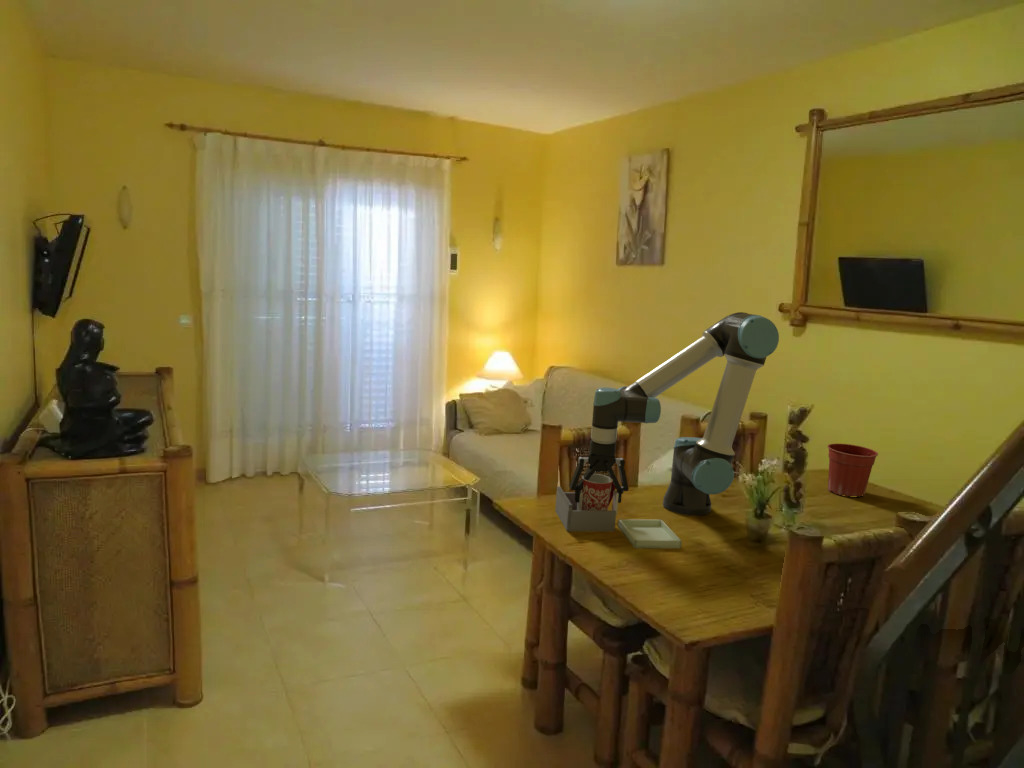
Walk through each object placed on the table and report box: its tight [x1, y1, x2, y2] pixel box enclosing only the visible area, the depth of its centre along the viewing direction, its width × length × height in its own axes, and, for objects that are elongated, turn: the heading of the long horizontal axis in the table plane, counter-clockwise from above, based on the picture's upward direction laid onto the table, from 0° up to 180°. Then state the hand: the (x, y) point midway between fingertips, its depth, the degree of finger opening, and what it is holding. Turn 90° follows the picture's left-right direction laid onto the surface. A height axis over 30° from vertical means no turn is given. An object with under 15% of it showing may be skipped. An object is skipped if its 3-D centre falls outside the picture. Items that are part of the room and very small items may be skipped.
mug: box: [581, 473, 616, 511], centre depth 217 cm, size 13×9×14 cm
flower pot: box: [827, 443, 879, 496], centre depth 260 cm, size 16×16×16 cm
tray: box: [617, 518, 682, 549], centre depth 208 cm, size 13×16×2 cm
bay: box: [554, 486, 617, 532], centre depth 217 cm, size 14×17×8 cm
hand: (596, 512), depth 218 cm, fingers closed on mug, 10 cm apart
